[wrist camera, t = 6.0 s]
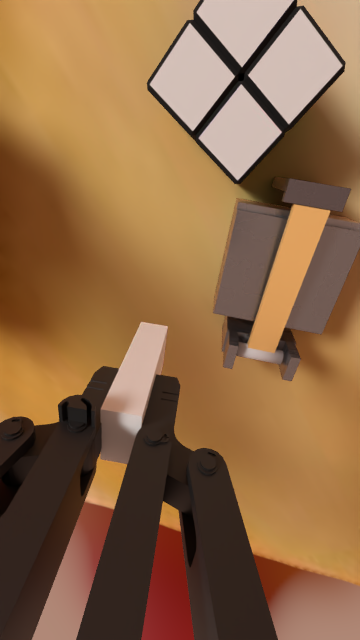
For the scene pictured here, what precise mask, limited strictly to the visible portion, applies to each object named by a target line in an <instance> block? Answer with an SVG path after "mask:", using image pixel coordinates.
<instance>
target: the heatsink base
mask: <svg viewBox="0 0 360 640" xmlns="http://www.w3.org/2000/svg"><path fill="white" fill-rule="evenodd" d="M272 187H274V188H277V189H280V190H283V191H284V194H283V197H282V201H283V202H288V203H294V204H300V205H305V206H311V207H317V208H322V209H328V210H334V211H340V212H342V211H343V208H344V206H345V203H346V201H347V198H348V196H349V193H350V190H351V189H349V188H343V187H337V186H331V185H325V184H319V183H314V182H308V181H302V180H296V179H290V178H281V177H275V178H274V182H273V185H272ZM290 211H291V207H285V206H280V205H274V204H268V203H262V202H257V201H251V200H245V199H240V198H236V203H235V207H234V212H233V216H232V221H231V225H230V230H229V234H228V238H227V243H226V247H225V252H224V256H223V261H222V265H221V270H220V274H219V279H218V283H217V288H216V292H215V296H214V307H213V313H215V314H220V315H225V319H224V323H223V327H222V351H223V367H225V368H230V369H232V368H233V364H234V361H235V357H236V354H237V350H238V347H239V345H238V342H242V343H248V340H249V337H250V334H251V331H252V328H253V325H254V322H255V319H256V316H257V313H258V310H259V307H260V303H261V300H262V297H263V294H264V291H265V288H266V285H267V282H268V279H269V276H270V273H271V270H272V267H273V264H274V261H275V257H276V254H277V251H278V248H279V245H280V242H281V239H282V236H283V233H284V230H285V227H286V224H287V221H288V218H289V214H290ZM359 248H360V223H359V222H356V221H354V220H351V219H349V218H346V217H342V216H336V215H331V214H329V216H328V219H327V221H326V224H325V226H324V229H323V231H322V234H321V237H320V239H319V242H318V244H317V247H316V249H315V252H314V254H313V257H312V259H311V262H310V264H309V267H308V269H307V272H306V275H305V277H304V280H303V282H302V285H301V287H300V290H299V292H298V295H297V297H296V300H295V302H294V305H293V307H292V310H291V313H290V315H289V318H288V320H287V323H286V325H285V328H284V330H283V333H282V335H281V338H280V340H279V343H278V345H277V348H276V349H277V350H282V351H283V360H282V363H281V364H278V365H279V369H280V372H281V376H282V379H283V380H288V381H292V379H293V377H294V374H295V372H296V369H297V367H298V365H299V362H300V360H301V358H300V356H299V353H298V351H297V348H296V342H295V339H294V337H293V335H292V332H291V330H290V328H291V329H296V330H302V331H307V332H312V333H317V334H322V332H323V330H324V328H325V326H326V323H327V321H328V319H329V316H330V314H331V312H332V310H333V307H334V305H335V303H336V301H337V298H338V296H339V294H340V291H341V289H342V287H343V285H344V282H345V280H346V278H347V276H348V273H349V271H350V269H351V266H352V264H353V262H354V260H355V257H356V255H357V253H358V250H359Z"/></svg>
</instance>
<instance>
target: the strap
mask: <svg viewBox="0 0 360 640" xmlns="http://www.w3.org/2000/svg"><path fill="white" fill-rule="evenodd" d="M329 214H330V210H328V209H322V208H317V207H311V206H305V205H300V204H294V203H293V205H292V208H291V211H290V214H289V218H288V221H287V224H286V227H285V230H284V233H283V236H282V239H281V242H280V245H279V248H278V251H277V254H276V257H275V261H274V264H273V267H272V270H271V273H270V276H269V279H268V282H267V285H266V288H265V291H264V294H263V297H262V300H261V303H260V307H259V310H258V313H257V316H256V319H255V322H254V325H253V328H252V331H251V334H250V337H249V340H248V343H242V342H238V345H239V347H238V350H237V354H236V356H241V357H245V358H250V359H255V360H260V361H265V362H270V363H275V364H281V363H282V360H283V351H282V350H277V349H276V348H277V345H278V343H279V340H280V338H281V335H282V333H283V330H284V328H285V325H286V323H287V320H288V318H289V315H290V313H291V310H292V307H293V305H294V302H295V300H296V297H297V295H298V292H299V290H300V287H301V285H302V282H303V280H304V277H305V275H306V272H307V269H308V267H309V264H310V262H311V259H312V257H313V254H314V252H315V249H316V247H317V244H318V242H319V239H320V237H321V234H322V231H323V229H324V226H325V224H326V221H327V219H328V216H329Z"/></svg>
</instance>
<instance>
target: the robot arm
mask: <svg viewBox="0 0 360 640" xmlns="http://www.w3.org/2000/svg"><path fill="white" fill-rule="evenodd" d="M167 330H168V326H163V325H157V324H151V323H145V322H141V323H140V325H139V328H138V330H137V332H136V334H135V336H134V338H133V341H132V343H131V345H130V347H129V349H128V351H127V353H126V356H125V358H124V360H123V362H122V364H121V366H120V368H119V369H118V368H112V367H106V366H103V367H101V368H100V369H99V370H97V371H96V372H95V373H94V375H93V377H92V378H91V381H90V382H89V384H88V385H87V388H86V389H85V391H84V392H83V394H82V395H74V396H70V397H67V398H66V399H64V400H62V401H61V402H60V403H59V404H58V410H59V421H60V422H57V423H53V424H46V425H36V426H34V424H33V421H31V420H30V419H29V418H26V417H12V418H10V419H7V420H4V421H3V422H1V423H0V640H32V637H33V634H34V632H35V630H36V627H37V624H38V622H39V619H40V616H41V614H42V611H43V609H44V606H45V603H46V601H47V598H48V596H49V593H50V590H51V588H52V585H53V582H54V580H55V577H56V575H57V572H58V569H59V566H60V564H61V562H62V559H63V556H64V554H65V551H66V549H67V546H68V543H69V541H70V538H71V535H72V533H73V530H74V527H75V525H76V522H77V520H78V517H79V515H80V511H81V509H82V507H83V504H84V501H85V499H86V496H87V494H88V491H89V488H90V486H91V483H92V481H93V478H94V475H95V473H96V462H97V459H98V457H99V454H100V452H101V459H102V460H108V461H114V462H119V463H125V464H128V465H127V468H126V471H125V475H124V478H123V482H122V485H121V488H120V492H119V495H118V499H117V502H116V506H115V509H114V512H113V516H112V519H111V523H110V526H109V529H108V533H107V536H106V540H105V543H104V547H103V550H102V554H101V557H100V560H99V564H98V567H97V570H96V574H95V577H94V581H93V584H92V588H91V591H90V594H89V598H88V602H87V605H86V608H85V611H84V615H83V618H82V622H81V625H80V629H79V632H78V636H77V639H76V640H141V637H142V631H143V625H144V617H145V611H146V604H147V599H148V592H149V586H150V579H151V573H152V567H153V560H154V553H155V547H156V541H157V535H158V534H157V533H158V528H159V522H160V515H161V509H162V503H163V501H164V502H166V503H168V504H169V505H171V506H173V507H174V508H176V509H178V510H179V518H180V526H181V534H182V542H183V549H184V558H185V566H186V575H187V583H188V591H189V599H190V607H191V614H192V624H193V632H194V639H195V640H278V638H277V635H276V631H275V628H274V625H273V621H272V618H271V615H270V611H269V608H268V604H267V601H266V598H265V594H264V591H263V587H262V584H261V581H260V577H259V574H258V570H257V567H256V564H255V560H254V557H253V553H252V550H251V547H250V543H249V540H248V536H247V533H246V530H245V526H244V523H243V519H242V516H241V513H240V509H239V506H238V502H237V499H236V496H235V492H234V489H233V485H232V482H231V479H230V475H229V472H228V468H227V465H226V463H225V461H224V459H223V457H222V456H221V455H220V454H219V453H218V452H216V451H214V450H212V449H207V448H201V449H197V450H196V451H192V450H190V449H188V448H186V447H185V446H183V445H182V444H181V443H180V442H179V441H178V440H177V439H176V437H175V434H174V424H175V417H176V411H177V404H178V398H179V391H180V384H179V381H178V379H177V378H175V377H169V376H163V375H161V372H162V368H163V362H164V354H165V346H166V338H167Z"/></svg>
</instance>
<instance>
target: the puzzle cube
mask: <svg viewBox="0 0 360 640" xmlns="http://www.w3.org/2000/svg"><path fill="white" fill-rule="evenodd" d="M344 69H345V61H344V60H343V59H342V57H341V56H340V54H339V53H338V52H337V50H336V49H335V48H334V46H333V45H332V44H331V42H330V41H329V40H328V38H327V37H326V35H325V34H324V33H323V31H322V30H321V29H320V27H319V26H318V25H317V23H316V22H315V20H314V19H313V18H312V16H311V15H310V14H309V12H308V11H307V10H306V8H305V7H304V6H298V7H297V0H200V1H199V3H198V4H197V6H196V7H195V9H194V20H187V21H186V23H185V24H184V26H183V28H182V29H181V31H180V32H179V34H178V35H177V37H176V38H175V40H174V41H173V43H172V45H171V46H170V48H169V49H168V51H167V52H166V54H165V55H164V57H163V58H162V60H161V62H160V63H159V65H158V66H157V68H156V69H155V71H154V72H153V74H152V75H151V77H150V79H149V80H148V82H147V88H148V91H149V92H150V93H151V94H152V95H153V96H154V97H155V98H156V99H157V100H158V102H159V103H160V104H161V105H162V106H163V107H164V108H165V109H166V110H167V111H168V112H169V113H170V114H171V115H172V117H173V118H174V119H175V120H176V121H177V122H178V123H179V124H180V125H181V126H182V127H183V128H184V129H185V131H186V132H187V133H188V134H189V135H190V136H191V137H192V138H193V139H194V140H195V141H196V143H197V144H198V145H199V146H200V147H201V148H202V149H203V150H204V151H205V152H206V153H207V155H208V156H209V157H210V158H211V159H212V160H213V161H214V162H215V163H216V164H217V165H218V166H219V167H220V168H221V170H222V171H223V172H224V173H225V174H226V175H227V176H228V177H229V178H230V179H231V180H232V181H233V182H234V183H235V184H240V183H241V182H242V181H243V180H244V179H245V178H246V177H247V176H248V175H249V174H250V173H251V171H252V170H253V169H254V168H255V167H256V166H257V165H258V164H259V163H260V162H261V161H262V160H263V158H264V157H265V156H266V155H267V154H268V153H269V152H270V151H271V150H272V149H273V148H274V147H275V146H276V144H277V143H278V142H279V141H280V140H281V139H282V138H283V137H284V133H285V132H287V131H288V130H290V129H291V128H292V127H293V126H294V125H295V124H296V123H297V122H298V121H299V120H300V118H301V117H302V116H303V115H304V114H305V113H306V112H307V111H308V110H309V109H310V108H311V107H312V105H313V104H314V103H315V102H316V101H317V100H318V99H319V98H320V97H321V96H322V95H323V94H324V93H325V91H326V90H327V89H328V88H329V87H330V86H331V85H332V84H333V83H334V82H335V81H336V80H337V78H338V77H339V76H340V75H341V74H342V73H343V72H344Z"/></svg>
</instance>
